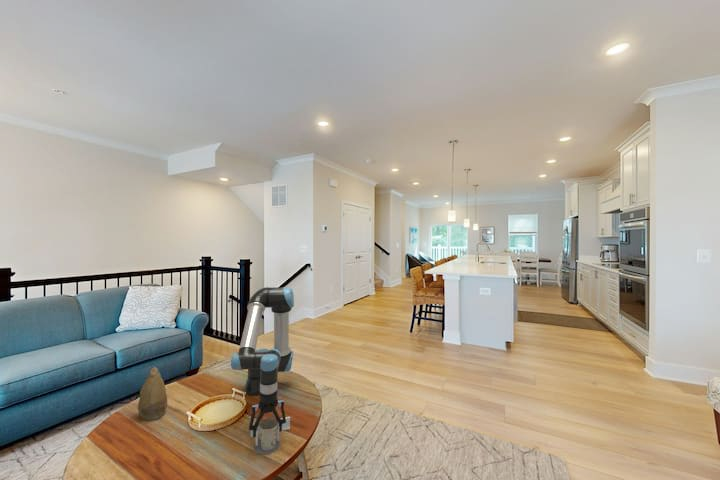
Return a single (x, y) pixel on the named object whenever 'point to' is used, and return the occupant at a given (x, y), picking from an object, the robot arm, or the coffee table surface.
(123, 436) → the coffee table surface
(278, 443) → the coaster
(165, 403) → the sculpture
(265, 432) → the mug
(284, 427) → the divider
